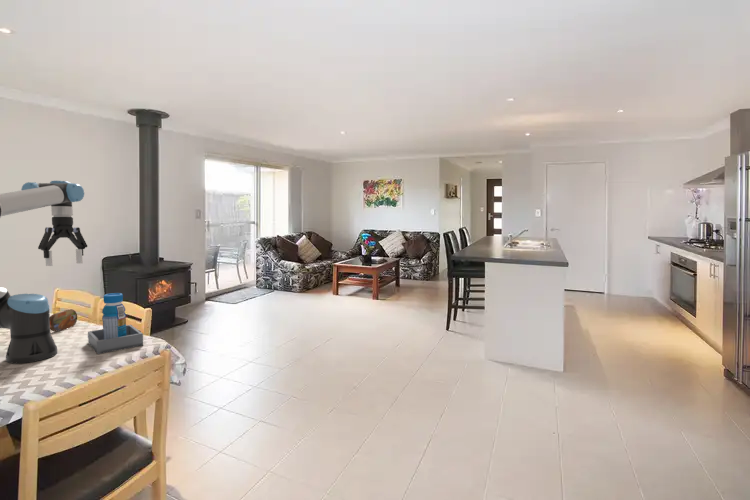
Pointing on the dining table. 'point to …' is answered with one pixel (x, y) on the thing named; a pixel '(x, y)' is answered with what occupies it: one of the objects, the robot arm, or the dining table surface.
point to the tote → (115, 340)
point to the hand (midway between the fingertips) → (64, 264)
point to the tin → (63, 320)
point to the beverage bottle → (114, 316)
